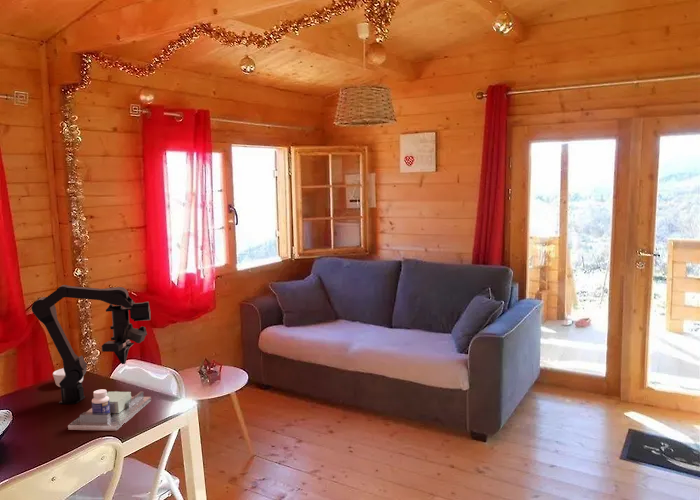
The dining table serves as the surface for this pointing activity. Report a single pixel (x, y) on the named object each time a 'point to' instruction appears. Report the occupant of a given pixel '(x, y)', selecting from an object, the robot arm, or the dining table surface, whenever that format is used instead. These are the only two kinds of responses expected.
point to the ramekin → (60, 376)
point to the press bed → (110, 416)
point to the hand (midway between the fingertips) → (123, 363)
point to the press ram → (118, 401)
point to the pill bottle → (100, 401)
